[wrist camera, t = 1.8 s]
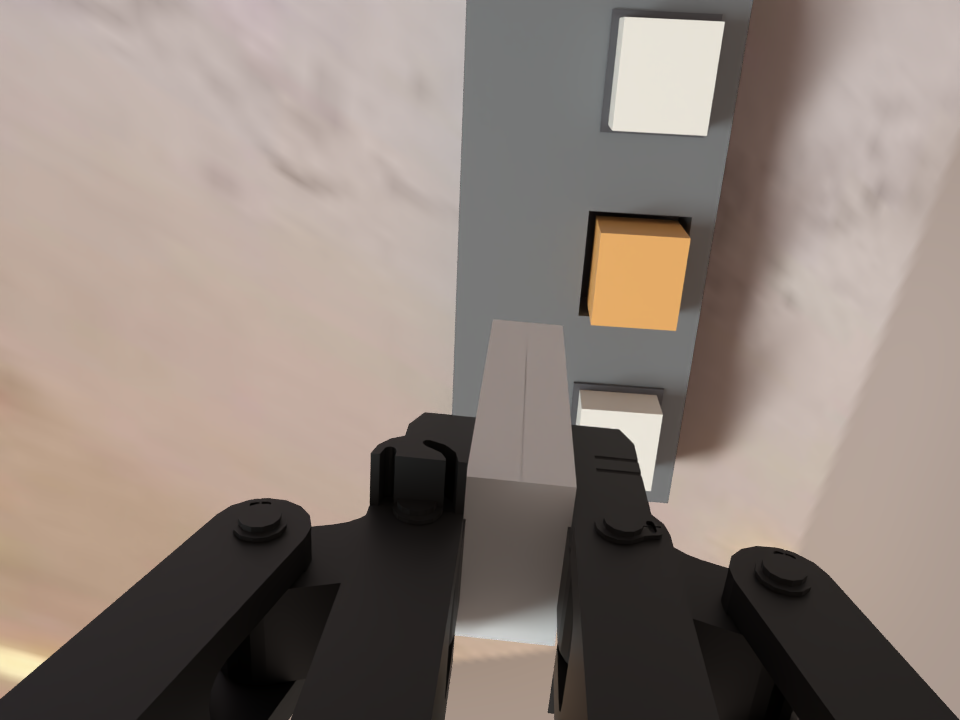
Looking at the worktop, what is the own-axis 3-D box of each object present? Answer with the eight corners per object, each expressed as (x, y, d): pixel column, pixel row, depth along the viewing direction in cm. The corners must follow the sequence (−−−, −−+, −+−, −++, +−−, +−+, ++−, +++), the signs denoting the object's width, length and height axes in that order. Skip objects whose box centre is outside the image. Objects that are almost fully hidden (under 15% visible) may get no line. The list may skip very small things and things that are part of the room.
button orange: (595, 215, 34) (600, 232, 31) (677, 220, 34) (690, 238, 31) (586, 300, 36) (590, 325, 33) (664, 306, 35) (676, 330, 32)
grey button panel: (476, -39, 33) (462, -53, 27) (734, -27, 32) (775, -39, 27) (457, 446, 43) (444, 510, 37) (656, 461, 42) (674, 529, 36)
